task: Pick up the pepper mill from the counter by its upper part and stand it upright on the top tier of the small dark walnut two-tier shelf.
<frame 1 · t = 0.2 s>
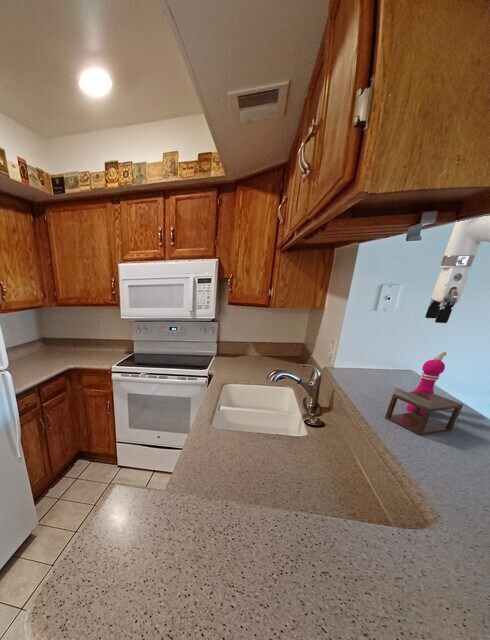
hand: (435, 320, 109), 30 cm above the worktop, tool pointing down, fingers open, 9 cm apart
pepper mill: (416, 410, 119), on the worktop
shelf: (416, 424, 109), on the worktop
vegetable: (419, 404, 123), on the worktop
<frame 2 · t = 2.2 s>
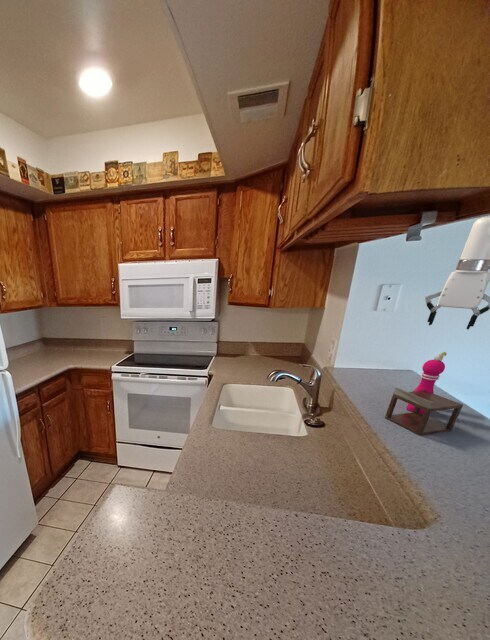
hand: (448, 326, 105), 29 cm above the worktop, tool pointing down, fingers open, 9 cm apart
nothing on the worktop moved.
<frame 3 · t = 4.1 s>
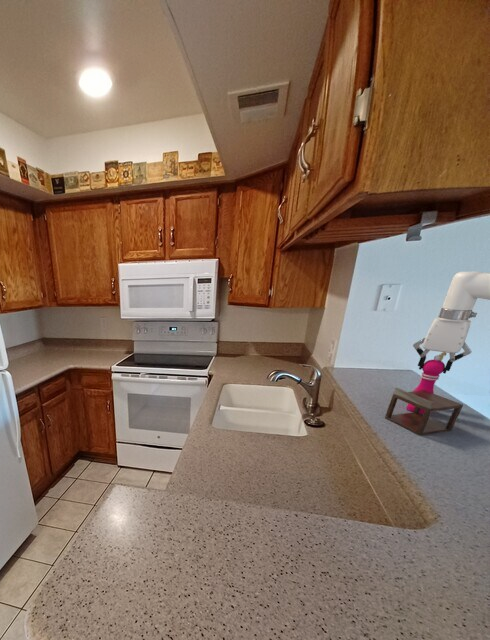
hand: (432, 370, 111), 15 cm above the worktop, tool pointing down, fingers closed on pepper mill, 6 cm apart
pepper mill: (416, 410, 119), on the worktop, touching gripper
everything else where it was.
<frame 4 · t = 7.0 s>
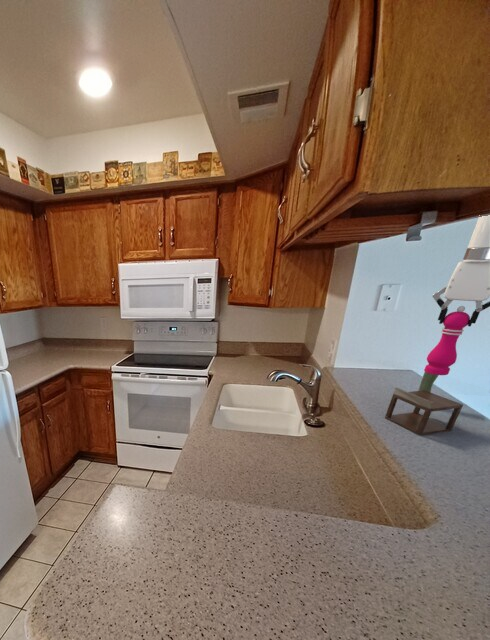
hand: (455, 323, 97), 31 cm above the worktop, tool pointing down, fingers closed on pepper mill, 6 cm apart
pepper mill: (435, 373, 105), point 16 cm above the worktop, touching gripper
everything else where it was.
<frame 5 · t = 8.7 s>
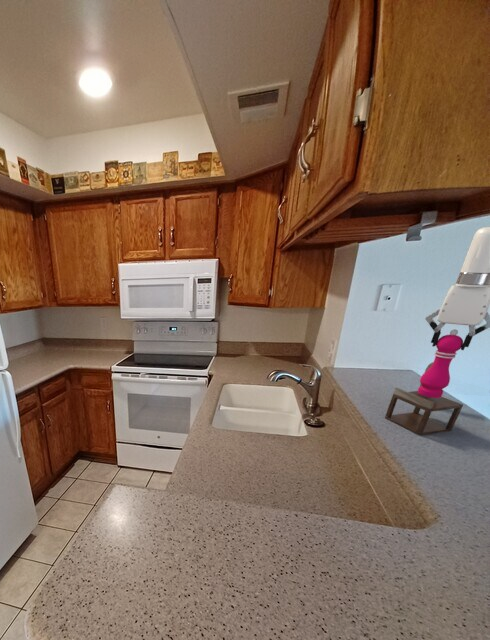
hand: (448, 346, 97), 26 cm above the worktop, tool pointing down, fingers closed on pepper mill, 6 cm apart
pepper mill: (428, 394, 104), point 10 cm above the worktop, touching gripper
everything else where it was.
when the fingers open (24 cm above the worktop, at t = 9.7 s): pepper mill stays where it is, resting on shelf.
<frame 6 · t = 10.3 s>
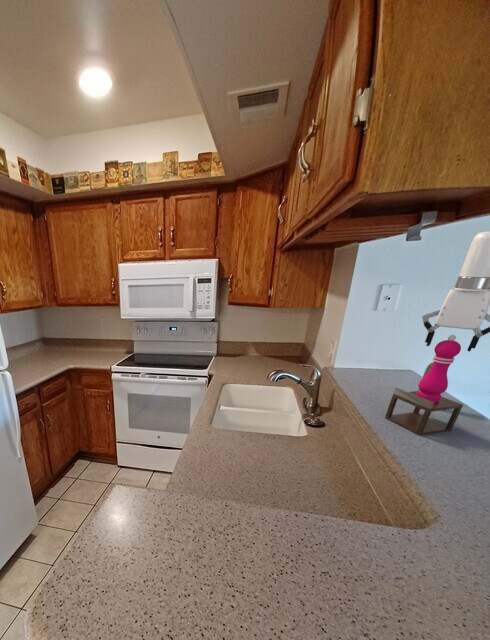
hand: (447, 347, 97), 25 cm above the worktop, tool pointing down, fingers open, 9 cm apart
pepper mill: (427, 399, 104), point 9 cm above the worktop, touching shelf
everything else where it was.
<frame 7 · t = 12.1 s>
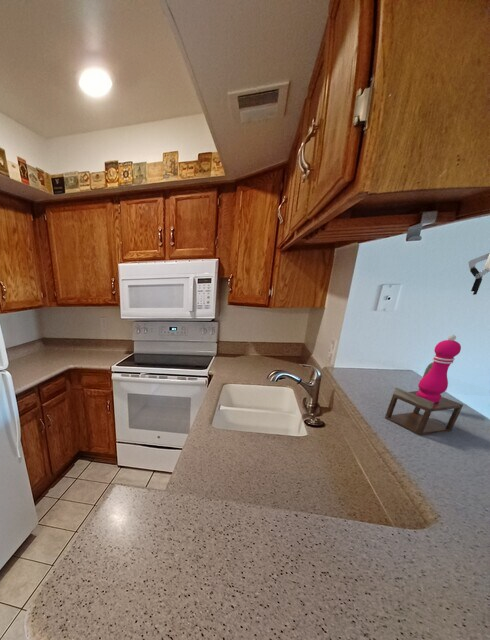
nothing on the worktop moved.
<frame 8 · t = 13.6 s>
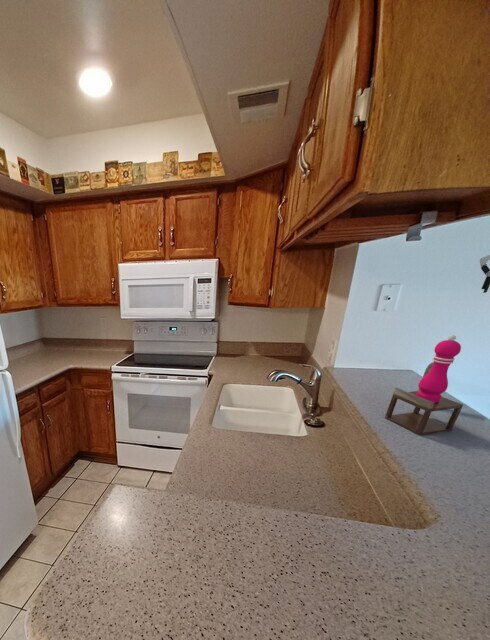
nothing on the worktop moved.
at the end: pepper mill inside the target area on the shelf (0.1 cm from its centre), point 8.8 cm above the shelf's base; pepper mill tilted 0° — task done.
